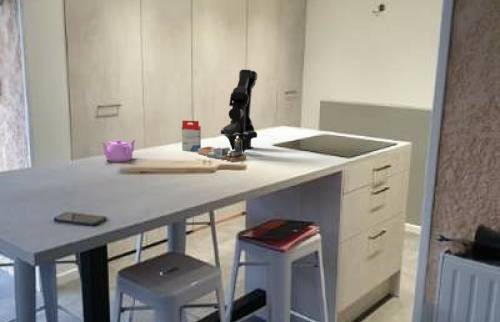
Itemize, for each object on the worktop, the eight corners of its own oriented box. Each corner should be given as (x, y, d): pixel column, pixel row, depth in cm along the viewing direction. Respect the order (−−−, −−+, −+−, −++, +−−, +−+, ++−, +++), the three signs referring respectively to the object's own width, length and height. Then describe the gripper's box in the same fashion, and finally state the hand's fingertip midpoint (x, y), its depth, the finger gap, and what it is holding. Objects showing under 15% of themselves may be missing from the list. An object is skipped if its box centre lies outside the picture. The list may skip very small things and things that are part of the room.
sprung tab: (228, 153, 244) (228, 147, 244) (229, 154, 243) (230, 147, 243) (220, 155, 241) (220, 148, 240) (222, 155, 240) (222, 149, 239)
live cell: (236, 157, 242) (236, 149, 241) (242, 158, 240) (242, 150, 239) (225, 159, 237) (225, 151, 236) (231, 160, 234) (231, 152, 234)
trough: (236, 157, 244) (237, 153, 244) (246, 159, 240) (246, 155, 240) (222, 160, 237) (222, 156, 237) (231, 162, 233) (231, 158, 233)
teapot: (100, 162, 226) (100, 141, 224) (110, 156, 240) (110, 136, 238) (128, 163, 226) (128, 142, 224) (136, 157, 239) (136, 137, 238)
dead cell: (238, 153, 254) (238, 137, 253) (243, 154, 252) (244, 138, 250) (232, 154, 252) (233, 138, 250) (238, 155, 249) (238, 139, 248)
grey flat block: (222, 154, 250) (222, 146, 250) (236, 157, 244) (236, 149, 244) (206, 156, 243) (207, 149, 242) (220, 159, 237) (220, 151, 236)
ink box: (200, 149, 261) (201, 119, 258) (199, 151, 256) (199, 121, 253) (183, 148, 262) (183, 119, 259) (181, 150, 257) (181, 120, 254)
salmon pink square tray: (209, 152, 254) (209, 146, 254) (219, 154, 250) (219, 148, 249) (198, 154, 249) (198, 148, 249) (208, 156, 245) (208, 150, 244)
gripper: (212, 117, 249) (212, 150, 252) (241, 121, 236) (240, 155, 239) (229, 115, 257) (228, 147, 260) (258, 119, 244) (257, 152, 248)
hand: (238, 150), depth 251 cm, fingers open, 6 cm apart
